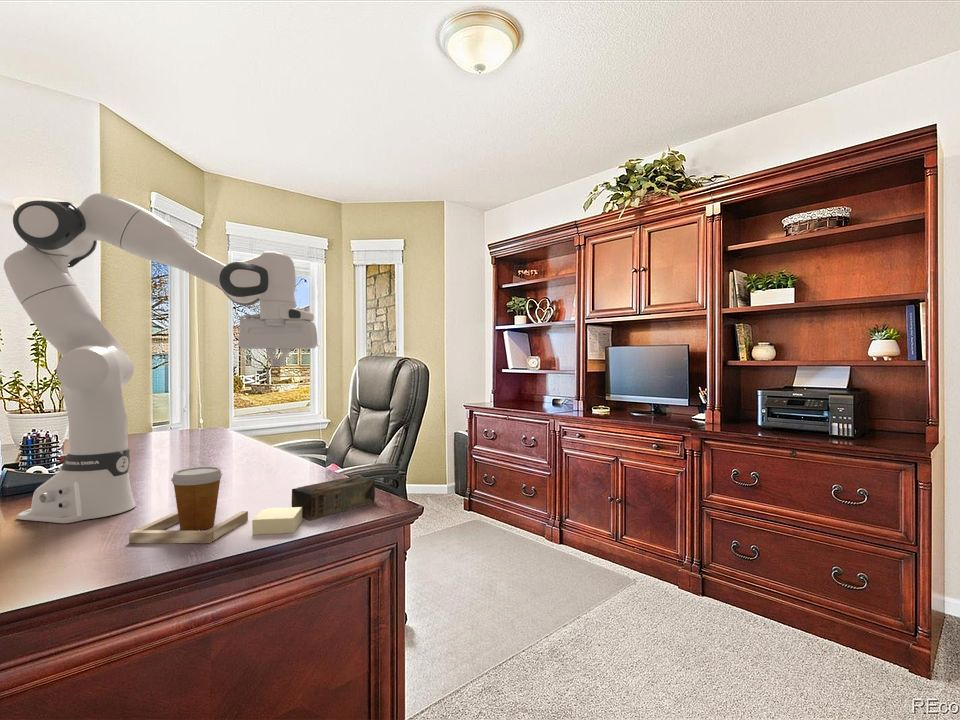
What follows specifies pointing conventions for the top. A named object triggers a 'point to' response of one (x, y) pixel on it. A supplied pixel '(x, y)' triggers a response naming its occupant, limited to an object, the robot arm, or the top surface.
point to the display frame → (158, 535)
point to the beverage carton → (333, 496)
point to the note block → (277, 520)
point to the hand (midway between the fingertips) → (278, 366)
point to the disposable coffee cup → (196, 496)
